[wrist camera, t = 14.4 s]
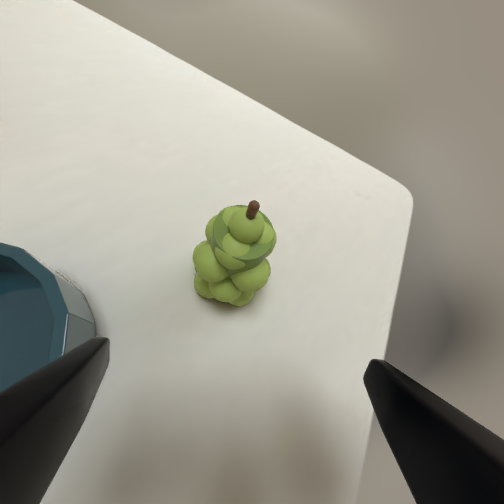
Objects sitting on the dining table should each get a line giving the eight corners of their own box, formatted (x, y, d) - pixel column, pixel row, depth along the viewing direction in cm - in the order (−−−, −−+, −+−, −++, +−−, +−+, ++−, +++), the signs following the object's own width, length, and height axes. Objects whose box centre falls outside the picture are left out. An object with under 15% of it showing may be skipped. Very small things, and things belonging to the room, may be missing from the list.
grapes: (272, 290, 24) (336, 228, 13) (213, 325, 21) (234, 284, 10) (237, 237, 26) (270, 144, 15) (179, 264, 23) (167, 175, 12)
